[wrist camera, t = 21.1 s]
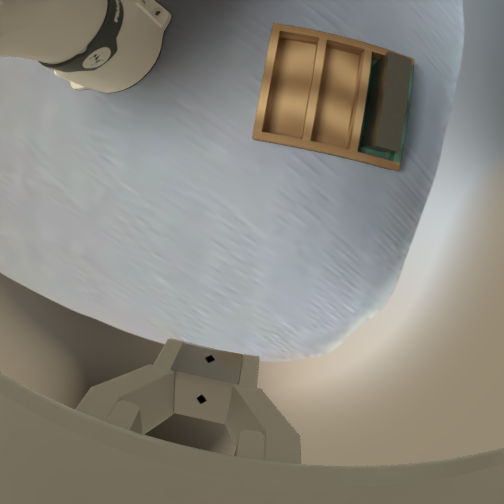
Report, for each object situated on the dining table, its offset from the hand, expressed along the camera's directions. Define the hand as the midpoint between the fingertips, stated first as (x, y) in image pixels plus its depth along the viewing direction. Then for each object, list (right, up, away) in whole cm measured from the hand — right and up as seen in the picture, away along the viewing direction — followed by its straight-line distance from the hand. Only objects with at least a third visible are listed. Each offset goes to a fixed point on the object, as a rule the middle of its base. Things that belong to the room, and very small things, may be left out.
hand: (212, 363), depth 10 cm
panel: (+18, +23, +27) cm, 40 cm away
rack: (+12, +24, +28) cm, 39 cm away
